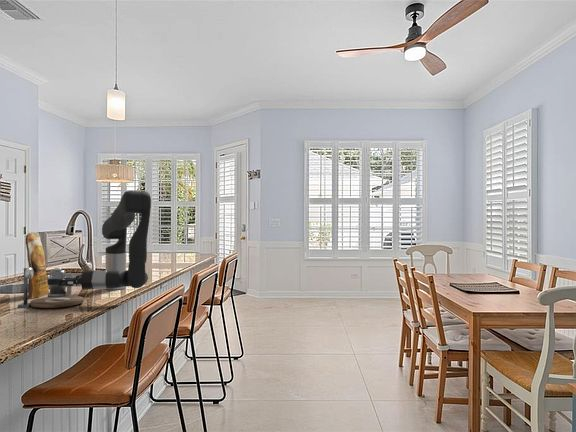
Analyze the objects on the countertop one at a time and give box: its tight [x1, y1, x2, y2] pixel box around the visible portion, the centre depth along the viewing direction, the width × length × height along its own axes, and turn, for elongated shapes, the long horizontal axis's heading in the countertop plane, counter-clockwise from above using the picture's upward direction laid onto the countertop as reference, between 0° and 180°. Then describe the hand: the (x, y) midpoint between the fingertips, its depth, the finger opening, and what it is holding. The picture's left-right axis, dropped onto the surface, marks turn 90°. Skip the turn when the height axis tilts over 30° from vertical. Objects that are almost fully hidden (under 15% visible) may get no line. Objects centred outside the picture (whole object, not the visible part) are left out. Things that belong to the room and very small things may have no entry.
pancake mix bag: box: [25, 232, 50, 299], centre depth 199 cm, size 7×19×28 cm, turn 8°
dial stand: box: [17, 267, 33, 309], centre depth 175 cm, size 4×4×15 cm
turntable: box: [29, 295, 85, 309], centre depth 179 cm, size 19×19×2 cm
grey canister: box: [47, 267, 68, 298], centre depth 179 cm, size 7×7×11 cm
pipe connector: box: [66, 272, 81, 296], centre depth 199 cm, size 10×10×10 cm
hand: (50, 280), depth 179 cm, fingers closed on grey canister, 5 cm apart
